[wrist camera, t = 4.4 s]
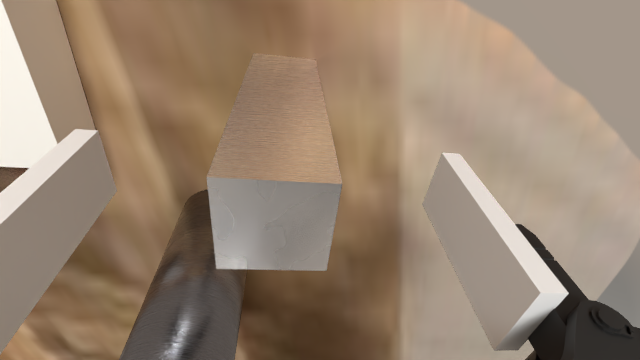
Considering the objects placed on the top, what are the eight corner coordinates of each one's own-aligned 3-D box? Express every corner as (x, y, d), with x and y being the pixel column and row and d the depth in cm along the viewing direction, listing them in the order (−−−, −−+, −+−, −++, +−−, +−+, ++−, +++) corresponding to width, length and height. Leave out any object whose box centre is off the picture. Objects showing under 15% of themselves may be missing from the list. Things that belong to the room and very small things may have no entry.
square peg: (310, 115, 24) (326, 270, 12) (253, 111, 23) (216, 268, 12) (315, 58, 21) (342, 183, 10) (253, 53, 21) (206, 177, 10)
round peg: (254, 242, 31) (231, 417, 19) (187, 240, 30) (122, 420, 18) (254, 190, 27) (226, 366, 16) (178, 187, 26) (91, 368, 15)
